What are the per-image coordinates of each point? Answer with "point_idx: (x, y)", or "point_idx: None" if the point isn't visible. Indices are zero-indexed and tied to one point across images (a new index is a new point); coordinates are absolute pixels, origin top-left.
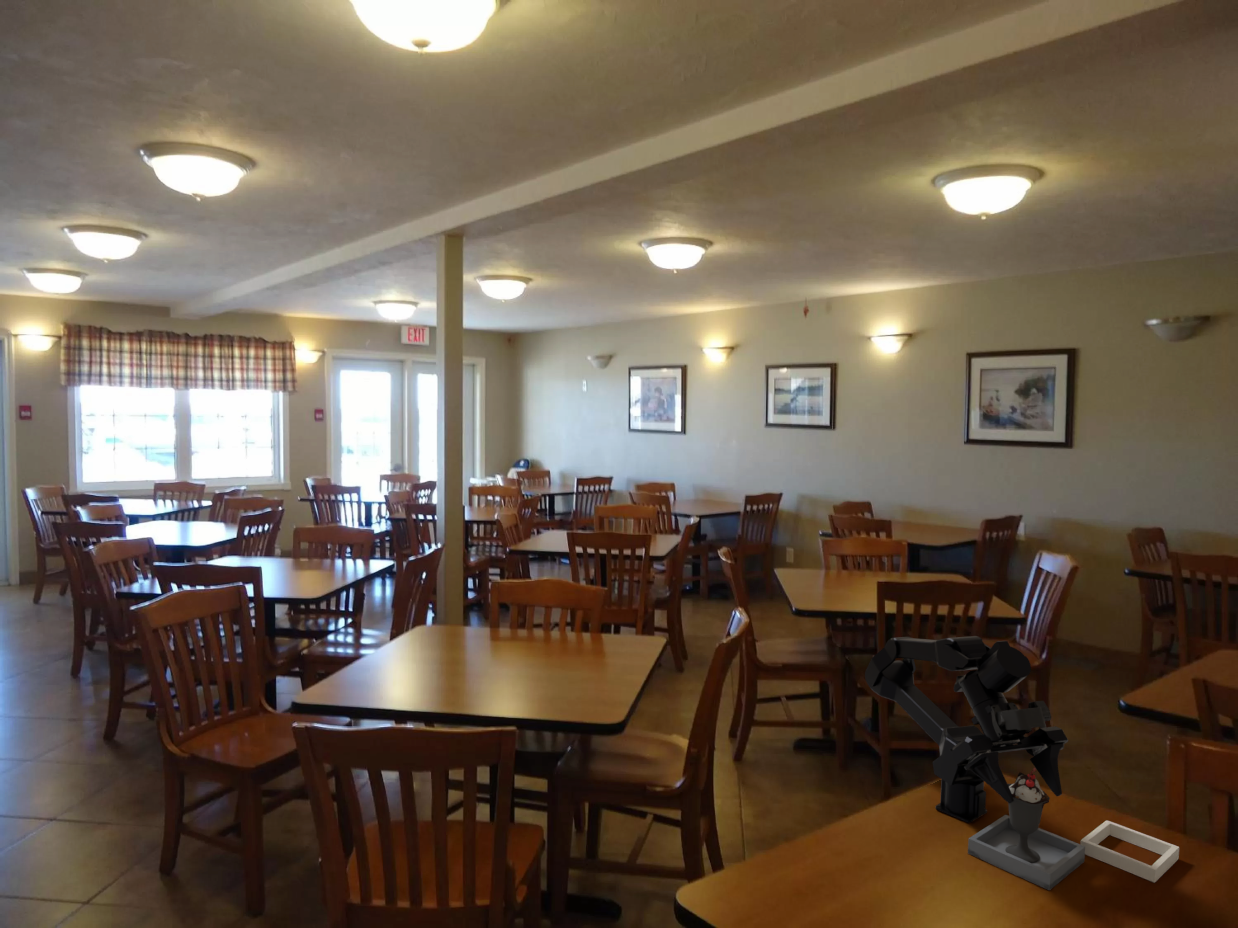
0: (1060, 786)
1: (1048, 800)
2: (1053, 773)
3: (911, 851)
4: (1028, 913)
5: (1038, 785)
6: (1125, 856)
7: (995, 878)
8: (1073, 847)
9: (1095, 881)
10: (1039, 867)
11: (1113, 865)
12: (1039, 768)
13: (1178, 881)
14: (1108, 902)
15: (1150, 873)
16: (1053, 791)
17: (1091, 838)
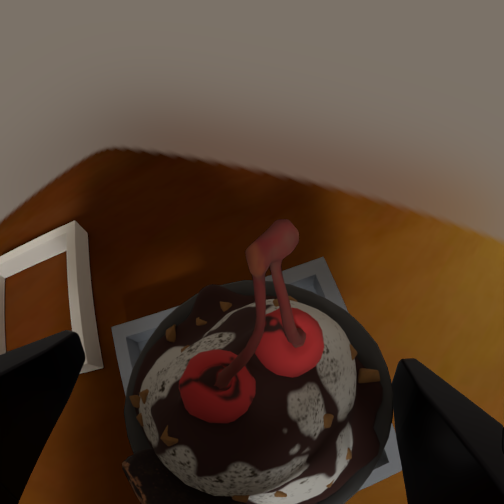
0: (42, 340)
1: (208, 286)
2: (2, 374)
3: None
4: (417, 226)
5: (199, 342)
6: (70, 273)
7: (406, 347)
8: (131, 348)
9: (182, 269)
10: (326, 289)
11: (92, 299)
12: (9, 484)
13: (56, 226)
14: (229, 208)
15: (80, 232)
16: (75, 375)
17: None
